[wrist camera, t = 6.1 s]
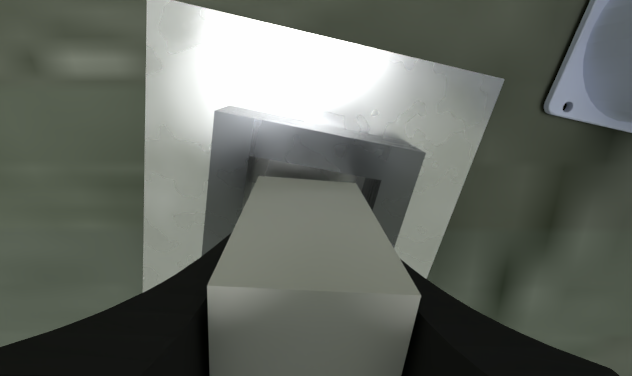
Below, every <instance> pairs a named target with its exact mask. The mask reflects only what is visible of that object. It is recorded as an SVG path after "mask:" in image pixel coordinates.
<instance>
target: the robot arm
mask: <svg viewBox="0 0 632 376" xmlns="http://www.w3.org/2000/svg"><path fill="white" fill-rule="evenodd" d="M565 103H566V104H567V106H566V108H565V110H563V106H564V104H565ZM544 110H545V112H546V113H548V114H550V115H554V116H559V117H563V118H568V119H572V120H577V121H581V122H585V123H590V124H594V125H599V126H603V127H607V128H612V129H616V130H621V131H625V132H629V133H632V0H590V2H589V4H588V6H587V9H586V11H585V13H584V15H583V18H582V20H581V22H580V24H579V27H578V29H577V31H576V33H575V36H574V38H573V40H572V42H571V45H570V47H569V49H568V51H567V54H566V56H565V58H564V60H563V63H562V65H561V67H560V69H559V71H558V74H557V76H556V78H555V80H554V83H553V85H552V87H551V89H550V92H549V94H548V96H547V98H546V101H545V103H544ZM231 234H232V233H230V234H229V235H228V236H227V237H225V238H224V239H223V240H222V241H220V242H219V243H218V244H217V245H215V246H214V247H213V248H212V249H210V250H209V251H208V252H207V253H205V254H204V255H203V256H201V257H200V258H199V259H197V260H196V261H194V262H193V263H191V264H190V265H188V266H187V267H186V268H184V269H183V270H181V271H180V272H178V273H177V274H175V275H174V276H172V277H170V278H169V279H167V280H165V281H164V282H162V283H160V284H158V285H156V286H155V287H153V288H151V289H149V290H147V291H145V292H143V293H141V294H139V295H137V296H135V297H133V298H131V299H129V300H126V301H124V302H122V303H120V304H118V305H116V306H114V307H112V308H109V309H107V310H105V311H102V312H100V313H97V314H95V315H92V316H90V317H88V318H85V319H82V320H80V321H77V322H74V323H72V324H69V325H66V326H64V327H61V328H58V329H55V330H52V331H50V332H47V333H44V334H40V335H37V336H34V337H31V338H28V339H25V340H22V341H18V342H15V343H12V344H9V345H6V346H3V347H0V376H210V374H209V339H208V304H207V285H208V282H209V280H210V278H211V276H212V274H213V272H214V270H215V268H216V266H217V263H218V261H219V259H220V257H221V255H222V253H223V251H224V249H225V246H226V244H227V242H228V240H229V238H230V236H231ZM400 260H401V259H400ZM401 262H402V263H403V265H404V267H405V268H406V270H407V272H408V274H409V275H410V277H411V279H412V280H413V282H414V284H415V286H416V287H417V289H418V291H419V293H420V294H421V298H420V302H419V306H418V310H417V314H416V318H415V323H414V327H413V331H412V335H411V339H410V343H409V347H408V351H407V355H406V359H405V363H404V367H403V371H402V375H401V376H619V375H618V374H617V373H616V372H614V371H613V370H612V369H610V368H607V367H605V366H602V365H599V364H597V363H594V362H591V361H589V360H586V359H583V358H581V357H578V356H575V355H572V354H570V353H567V352H564V351H562V350H559V349H556V348H554V347H551V346H549V345H547V344H544V343H542V342H540V341H537V340H535V339H533V338H531V337H528V336H526V335H524V334H521V333H519V332H517V331H515V330H513V329H511V328H509V327H506V326H504V325H502V324H500V323H498V322H497V321H495V320H493V319H491V318H489V317H487V316H485V315H483V314H481V313H479V312H477V311H476V310H474V309H472V308H470V307H468V306H467V305H465V304H463V303H462V302H460V301H459V300H457V299H455V298H454V297H452V296H450V295H449V294H447V293H446V292H444V291H443V290H441V289H440V288H438V287H437V286H435V285H434V284H433V283H431V282H430V281H428V280H427V279H426V278H424V277H423V276H421V275H420V274H419V273H418V272H416V271H415V270H414V269H412V268H411V267H410V266H409V265H407V264H406V263H405V262H404V261H402V260H401Z"/></svg>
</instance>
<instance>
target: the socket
mask: <svg viewBox="0 0 632 376" xmlns="http://www.w3.org/2000/svg"><path fill="white" fill-rule="evenodd" d="M504 80H505V79H502V78H498V77H493V76H489V75H485V74H481V73H477V72H472V71H468V70H464V69H460V68H456V67H451V66H447V65H443V64H439V63H434V62H430V61H426V60H422V59H418V58H413V57H409V56H405V55H401V54H397V53H392V52H388V51H384V50H380V49H376V48H371V47H367V46H363V45H359V44H355V43H350V42H346V41H342V40H338V39H333V38H329V37H325V36H321V35H317V34H312V33H308V32H304V31H300V30H296V29H291V28H287V27H283V26H279V25H275V24H270V23H266V22H262V21H258V20H254V19H249V18H245V17H241V16H237V15H233V14H228V13H224V12H220V11H216V10H211V9H207V8H203V7H199V6H195V5H190V4H186V3H182V2H178V1H174V0H147V33H146V103H145V174H144V244H143V292H145V291H147V290H149V289H151V288H153V287H155V286H156V285H158V284H160V283H162V282H164V281H165V280H167V279H169V278H170V277H172V276H174V275H175V274H177V273H178V272H180V271H181V270H183V269H184V268H186V267H187V266H188V265H190V264H191V263H193V262H194V261H196V260H197V259H199V258H200V257H201V256H203V255H204V254H205V253H207V252H208V251H209V250H210V249H212V248H213V247H214V246H215V245H217V244H218V243H219V242H220V241H222V240H223V239H224V238H225V237H227V236H228V235H229V234H230V233H232V232H233V229H234V227H235V225H236V223H237V221H238V219H239V217H240V215H241V213H242V210H243V208H244V206H245V204H246V202H247V200H248V198H249V196H250V193H251V191H252V189H253V187H254V185H255V183H256V181H257V179H258V176H268V177H281V178H294V179H308V180H321V181H335V182H348V183H356V184H357V186H358V187H359V189H360V191H361V193H362V194H363V196H364V198H365V199H366V201H367V203H368V205H369V206H370V208H371V210H372V212H373V213H374V215H375V217H376V218H377V220H378V222H379V224H380V225H381V227H382V229H383V230H384V232H385V234H386V236H387V237H388V239H389V241H390V243H391V244H392V246H393V248H394V249H395V251H396V253H397V255H398V256H399V258H400V259H401V260H402V261H404V262H405V263H406V264H407V265H409V266H410V267H411V268H412V269H414V270H415V271H416V272H418V273H419V274H420V275H421V276H423V277H424V278H426V279H427V276H428V274H429V271H430V269H431V266H432V263H433V261H434V258H435V256H436V253H437V251H438V248H439V246H440V243H441V240H442V238H443V235H444V233H445V230H446V228H447V225H448V223H449V220H450V218H451V215H452V212H453V210H454V207H455V205H456V202H457V200H458V197H459V195H460V192H461V189H462V187H463V184H464V182H465V179H466V177H467V174H468V172H469V169H470V166H471V164H472V161H473V159H474V156H475V154H476V151H477V149H478V146H479V144H480V141H481V138H482V136H483V133H484V131H485V128H486V126H487V123H488V121H489V118H490V115H491V113H492V110H493V108H494V105H495V103H496V100H497V98H498V95H499V92H500V90H501V87H502V85H503V82H504Z"/></svg>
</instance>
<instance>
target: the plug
mask: <svg viewBox="0 0 632 376" xmlns="http://www.w3.org/2000/svg"><path fill="white" fill-rule="evenodd" d="M420 298H421V294H420V293H419V291H418V289H417V287H416V286H415V284H414V282H413V280H412V279H411V277H410V275H409V274H408V272H407V270H406V268H405V267H404V265H403V263H402V262H401V260H400V258H399V256H398V255H397V253H396V251H395V249H394V248H393V246H392V244H391V243H390V241H389V239H388V237H387V236H386V234H385V232H384V230H383V229H382V227H381V225H380V224H379V222H378V220H377V218H376V217H375V215H374V213H373V212H372V210H371V208H370V206H369V205H368V203H367V201H366V199H365V198H364V196H363V194H362V193H361V191H360V189H359V187H358V186H357V184H356V183H348V182H335V181H321V180H308V179H294V178H281V177H268V176H258V179H257V181H256V183H255V185H254V187H253V189H252V191H251V193H250V196H249V198H248V200H247V202H246V204H245V206H244V208H243V210H242V213H241V215H240V217H239V219H238V221H237V223H236V225H235V227H234V229H233V232H232V234H231V236H230V238H229V240H228V242H227V244H226V246H225V249H224V251H223V253H222V255H221V257H220V259H219V261H218V263H217V266H216V268H215V270H214V272H213V274H212V276H211V278H210V280H209V282H208V285H207V304H208V339H209V374H210V376H401V375H402V371H403V367H404V363H405V359H406V355H407V351H408V347H409V343H410V339H411V335H412V331H413V327H414V323H415V318H416V314H417V310H418V306H419V302H420Z"/></svg>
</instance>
